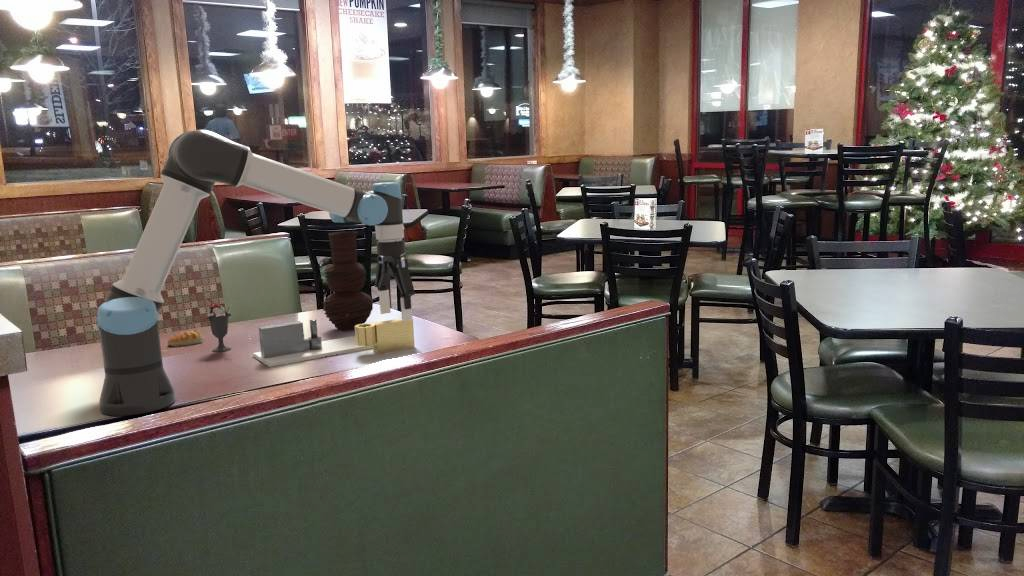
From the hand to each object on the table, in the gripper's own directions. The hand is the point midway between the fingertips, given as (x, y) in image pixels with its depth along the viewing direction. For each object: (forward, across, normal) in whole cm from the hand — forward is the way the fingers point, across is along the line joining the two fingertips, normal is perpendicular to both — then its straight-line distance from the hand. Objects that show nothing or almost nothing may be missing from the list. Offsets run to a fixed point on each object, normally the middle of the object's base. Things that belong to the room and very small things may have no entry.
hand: (396, 316), depth 217 cm
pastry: (+9, +49, +45) cm, 68 cm away
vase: (+9, +34, 0) cm, 35 cm away
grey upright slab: (+8, +12, +26) cm, 29 cm away
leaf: (+9, 0, +4) cm, 10 cm away
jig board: (+9, +12, +19) cm, 24 cm away
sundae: (+9, +33, +39) cm, 52 cm away
